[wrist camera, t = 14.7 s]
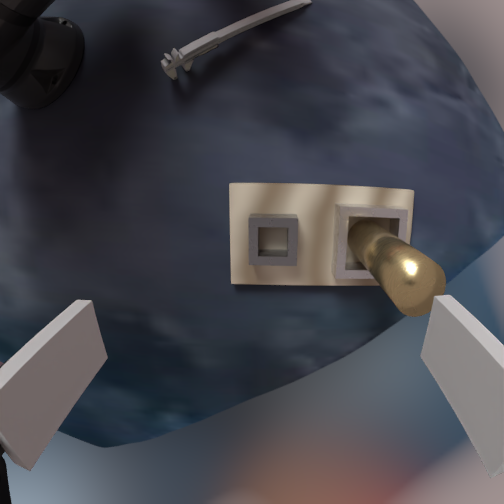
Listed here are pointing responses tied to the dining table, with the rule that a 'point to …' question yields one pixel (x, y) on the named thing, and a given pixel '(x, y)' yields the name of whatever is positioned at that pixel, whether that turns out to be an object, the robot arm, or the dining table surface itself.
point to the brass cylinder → (397, 267)
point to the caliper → (223, 37)
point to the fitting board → (308, 231)
